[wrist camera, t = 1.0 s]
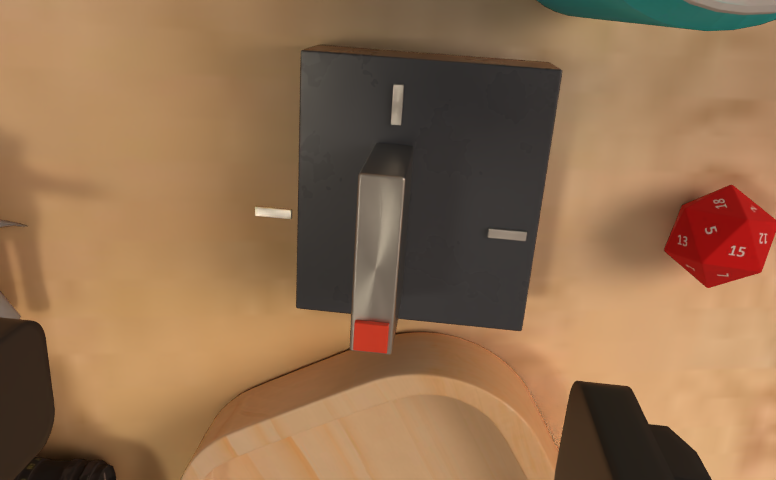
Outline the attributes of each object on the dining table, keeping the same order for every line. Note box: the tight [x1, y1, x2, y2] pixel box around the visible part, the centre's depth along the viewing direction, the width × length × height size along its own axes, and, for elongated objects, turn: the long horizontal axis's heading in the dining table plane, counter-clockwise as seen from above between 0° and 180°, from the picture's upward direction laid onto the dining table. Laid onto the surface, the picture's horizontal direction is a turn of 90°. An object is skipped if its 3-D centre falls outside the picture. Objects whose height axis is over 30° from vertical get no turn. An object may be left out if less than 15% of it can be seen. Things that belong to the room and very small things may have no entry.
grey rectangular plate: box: [350, 143, 414, 355], centre depth 22 cm, size 6×1×5 cm, turn 176°
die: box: [664, 185, 776, 288], centre depth 25 cm, size 4×4×4 cm
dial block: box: [255, 45, 562, 331], centre depth 25 cm, size 11×11×3 cm
